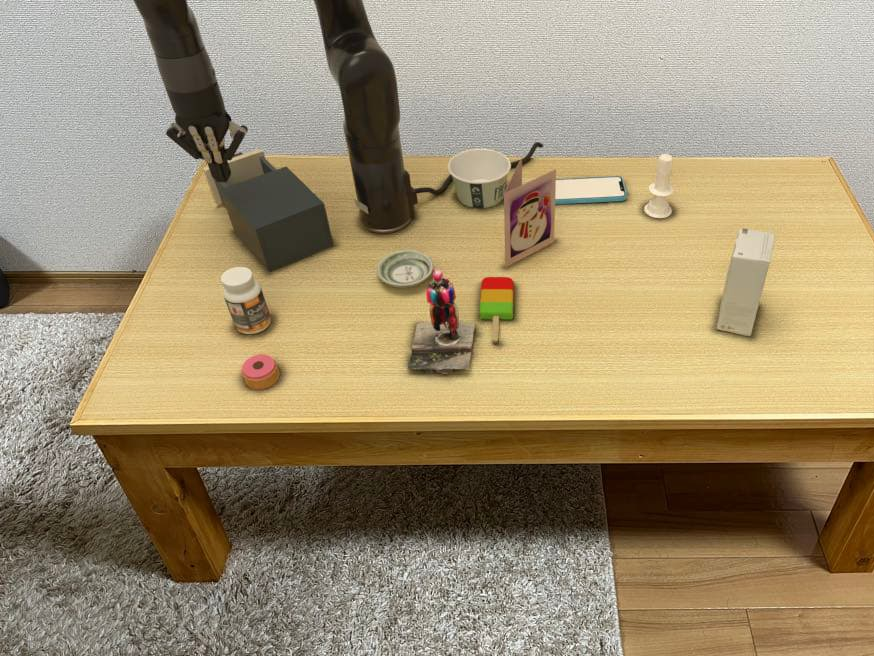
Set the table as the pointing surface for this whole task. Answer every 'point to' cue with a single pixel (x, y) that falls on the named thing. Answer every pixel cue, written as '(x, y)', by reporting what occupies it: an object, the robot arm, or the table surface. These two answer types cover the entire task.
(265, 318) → the pill bottle
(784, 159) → the table surface
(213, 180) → the drawer
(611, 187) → the smartphone
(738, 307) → the cosmetic box
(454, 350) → the statue
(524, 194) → the greeting card
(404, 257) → the saucer
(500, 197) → the food container
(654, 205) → the candle
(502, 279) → the popsicle
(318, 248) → the cabinet
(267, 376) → the donut
